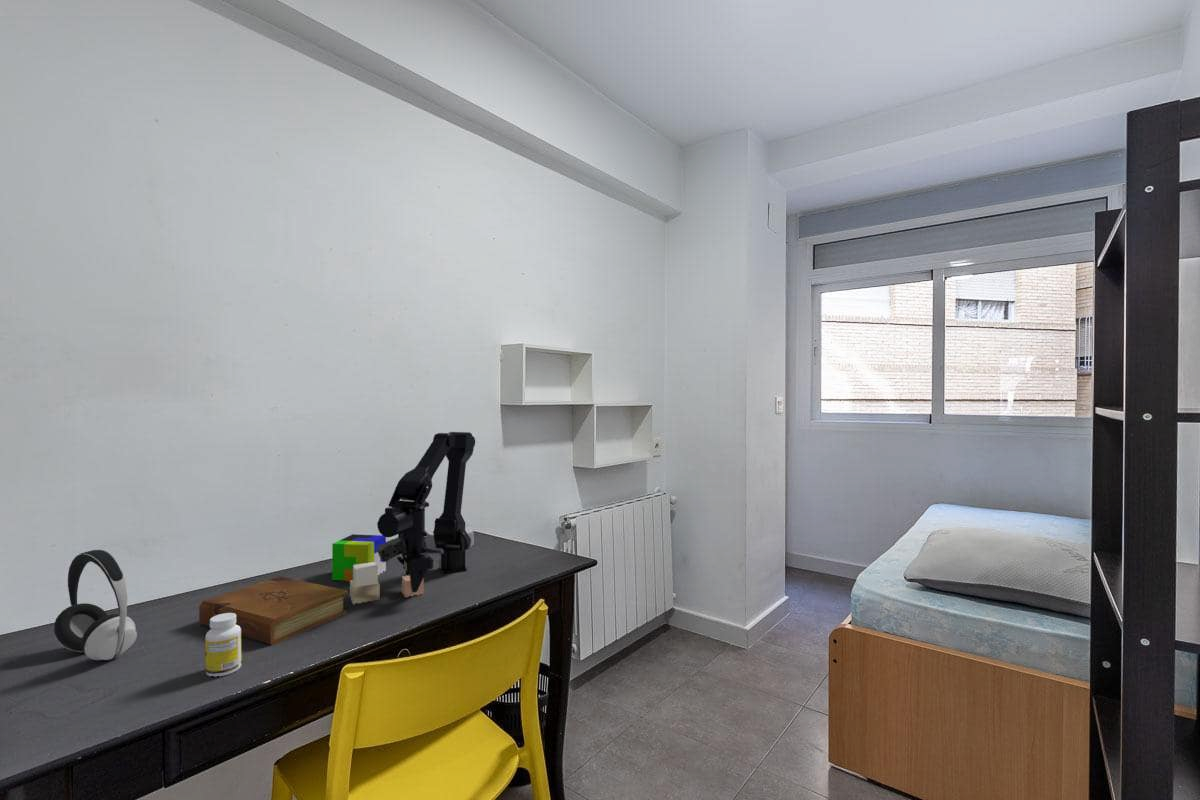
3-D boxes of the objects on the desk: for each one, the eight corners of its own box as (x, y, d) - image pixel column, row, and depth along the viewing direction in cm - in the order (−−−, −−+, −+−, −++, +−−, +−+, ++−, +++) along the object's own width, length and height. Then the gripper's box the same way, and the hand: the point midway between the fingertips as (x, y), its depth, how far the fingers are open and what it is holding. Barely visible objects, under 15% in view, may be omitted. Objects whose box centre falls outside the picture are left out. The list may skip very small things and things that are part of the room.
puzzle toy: (385, 570, 159) (385, 535, 159) (367, 582, 149) (367, 545, 149) (352, 569, 160) (352, 534, 160) (332, 580, 150) (332, 543, 150)
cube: (419, 589, 144) (419, 573, 144) (423, 594, 141) (423, 578, 140) (401, 591, 142) (402, 576, 142) (405, 597, 138) (405, 581, 138)
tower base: (375, 592, 142) (375, 577, 142) (379, 600, 137) (379, 584, 137) (349, 596, 139) (350, 580, 139) (352, 604, 134) (353, 588, 134)
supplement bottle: (216, 663, 104) (216, 611, 104) (247, 662, 105) (247, 610, 104) (198, 678, 99) (198, 623, 99) (230, 677, 99) (230, 622, 99)
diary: (199, 628, 121) (199, 601, 121) (279, 599, 138) (279, 576, 138) (270, 648, 112) (270, 619, 111) (347, 614, 129) (347, 589, 129)
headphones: (149, 655, 107) (149, 551, 107) (94, 675, 99) (94, 563, 99) (96, 636, 115) (96, 539, 115) (42, 653, 107) (41, 550, 107)
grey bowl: (453, 537, 197) (453, 522, 197) (483, 544, 188) (483, 529, 188) (416, 546, 184) (416, 531, 184) (446, 554, 175) (446, 538, 175)
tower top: (374, 577, 141) (374, 562, 141) (377, 583, 137) (377, 567, 137) (353, 580, 139) (353, 564, 139) (355, 587, 134) (355, 570, 134)
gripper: (373, 523, 145) (373, 583, 145) (385, 540, 129) (384, 607, 129) (417, 518, 151) (417, 576, 151) (434, 534, 135) (433, 598, 135)
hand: (412, 588), depth 141 cm, fingers closed on cube, 4 cm apart
